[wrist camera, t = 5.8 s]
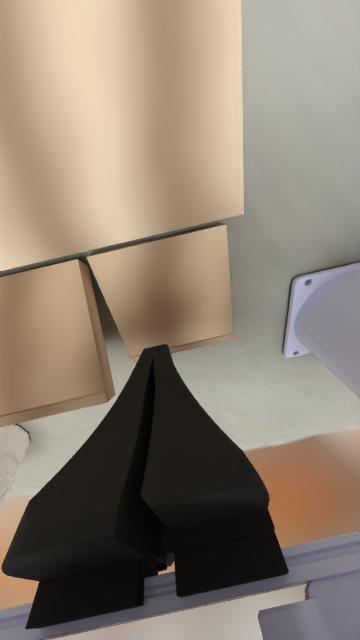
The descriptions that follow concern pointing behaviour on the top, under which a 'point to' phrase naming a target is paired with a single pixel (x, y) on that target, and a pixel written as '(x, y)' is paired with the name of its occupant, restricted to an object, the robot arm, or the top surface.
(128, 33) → the floor board
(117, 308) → the plank
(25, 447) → the white cup
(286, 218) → the top surface
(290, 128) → the top surface
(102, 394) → the plank
